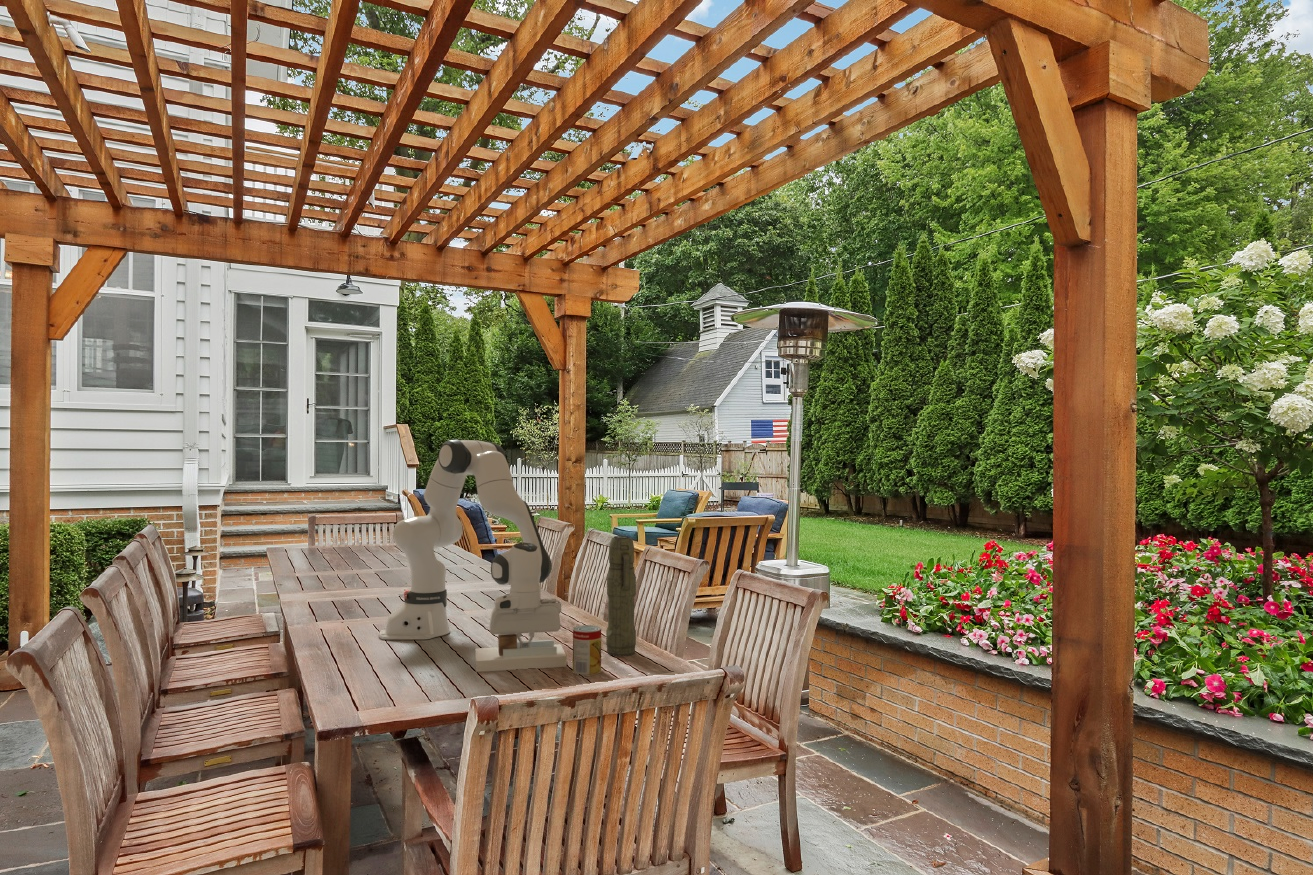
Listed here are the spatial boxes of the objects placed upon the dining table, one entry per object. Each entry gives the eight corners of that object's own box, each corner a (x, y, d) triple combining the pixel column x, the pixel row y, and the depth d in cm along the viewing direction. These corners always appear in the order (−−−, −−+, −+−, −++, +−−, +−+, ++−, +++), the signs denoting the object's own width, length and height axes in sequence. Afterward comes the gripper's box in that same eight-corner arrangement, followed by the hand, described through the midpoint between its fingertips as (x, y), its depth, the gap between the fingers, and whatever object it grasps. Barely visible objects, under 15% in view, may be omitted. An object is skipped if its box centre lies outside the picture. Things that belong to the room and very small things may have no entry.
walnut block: (499, 655, 230) (499, 638, 230) (498, 651, 235) (498, 633, 235) (517, 654, 231) (516, 636, 231) (515, 649, 236) (515, 632, 236)
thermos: (615, 659, 239) (616, 539, 239) (600, 649, 249) (600, 535, 250) (642, 655, 243) (643, 538, 243) (626, 646, 253) (627, 534, 254)
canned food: (604, 668, 228) (604, 625, 229) (596, 676, 221) (596, 632, 221) (577, 666, 230) (578, 624, 230) (568, 674, 223) (569, 630, 223)
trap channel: (475, 671, 225) (475, 653, 225) (475, 658, 238) (475, 641, 238) (566, 666, 230) (566, 648, 230) (560, 654, 244) (560, 637, 244)
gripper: (560, 596, 240) (559, 643, 240) (489, 599, 236) (489, 647, 235) (562, 600, 234) (562, 648, 234) (490, 603, 229) (489, 652, 229)
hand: (525, 648), depth 235 cm, fingers closed
